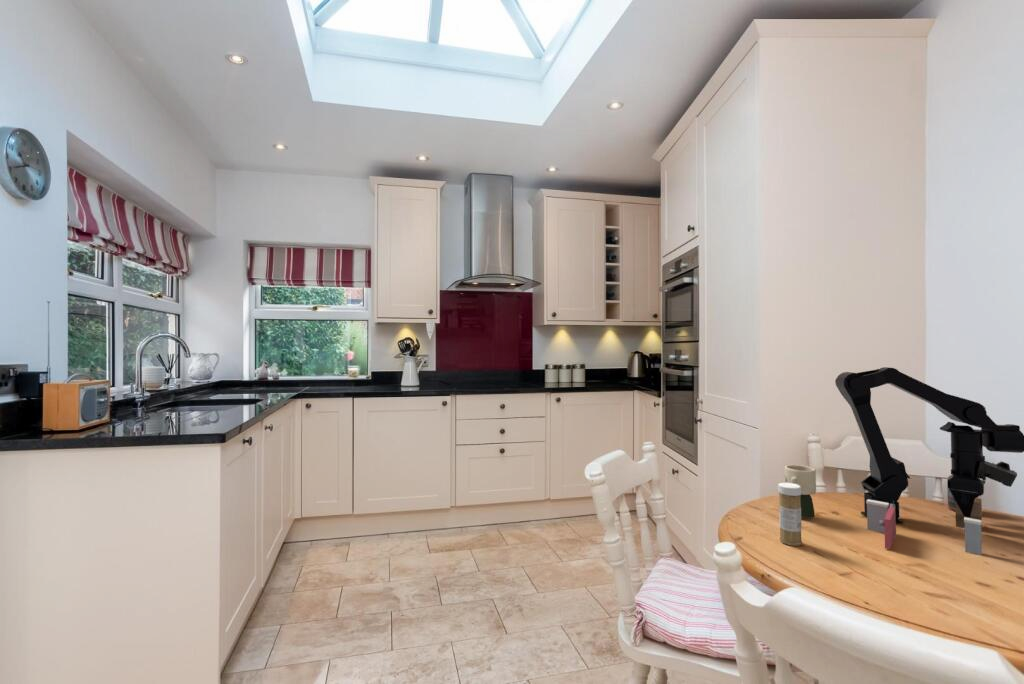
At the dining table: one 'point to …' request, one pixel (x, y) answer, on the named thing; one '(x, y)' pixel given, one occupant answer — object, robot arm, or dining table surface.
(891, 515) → the door
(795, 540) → the sprinkles bottle
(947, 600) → the dining table surface
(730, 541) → the dining table surface
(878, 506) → the pair of grey plates
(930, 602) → the dining table surface
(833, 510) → the dining table surface
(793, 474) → the character mug
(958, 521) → the block
